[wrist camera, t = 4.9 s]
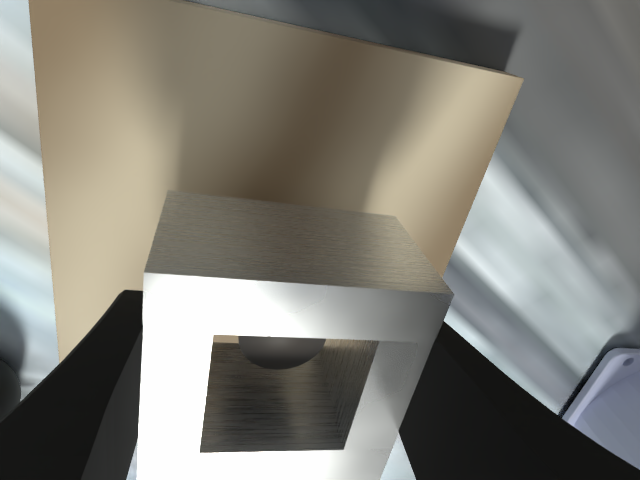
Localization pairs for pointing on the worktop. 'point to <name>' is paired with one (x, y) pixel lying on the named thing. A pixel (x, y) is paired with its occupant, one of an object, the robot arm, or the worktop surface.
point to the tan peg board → (241, 137)
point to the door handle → (8, 389)
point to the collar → (280, 321)
